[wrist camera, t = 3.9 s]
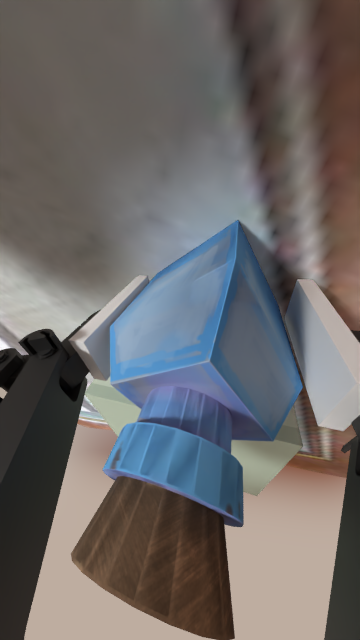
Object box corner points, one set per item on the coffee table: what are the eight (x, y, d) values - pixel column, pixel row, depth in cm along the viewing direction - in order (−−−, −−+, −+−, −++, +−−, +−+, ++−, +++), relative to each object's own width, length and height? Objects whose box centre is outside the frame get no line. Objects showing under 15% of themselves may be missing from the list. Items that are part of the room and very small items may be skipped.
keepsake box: (120, 342, 19) (84, 393, 15) (284, 365, 15) (302, 446, 10) (149, 412, 29) (132, 455, 24) (253, 438, 25) (256, 496, 20)
